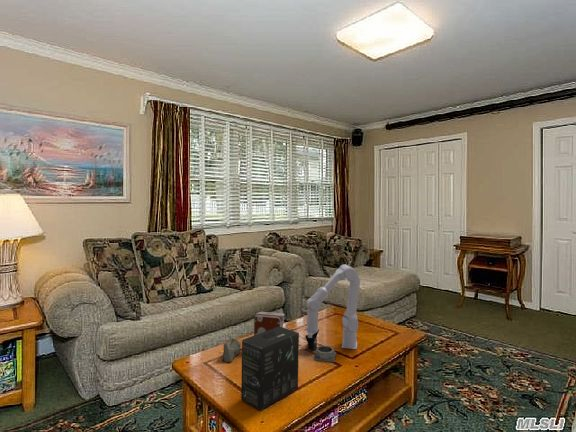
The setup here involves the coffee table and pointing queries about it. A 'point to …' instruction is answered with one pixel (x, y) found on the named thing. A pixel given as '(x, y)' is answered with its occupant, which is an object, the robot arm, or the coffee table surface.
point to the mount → (325, 354)
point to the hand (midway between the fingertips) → (312, 346)
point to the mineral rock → (231, 349)
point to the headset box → (269, 366)
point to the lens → (314, 346)
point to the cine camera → (267, 321)
